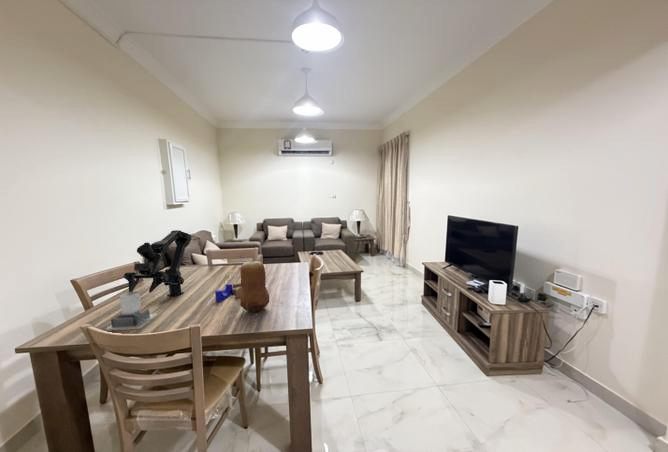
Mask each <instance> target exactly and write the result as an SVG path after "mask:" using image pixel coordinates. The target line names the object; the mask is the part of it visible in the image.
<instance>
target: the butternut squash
mask: <svg viewBox="0 0 668 452" xmlns="http://www.w3.org/2000/svg"><path fill="white" fill-rule="evenodd" d="M266 276H267V275H266V270H265V265H264V263H263V262H261V261H259V260H258V261H257V260H256V261H249V260H248V261H245V262H243V264H241V266H240V282H241V286H242V292H241V296H240V297H239V298H240V299H239V301H240V303H239V304H240V305H239V306H240V307H241V308H242V309H243V310H245V311H247V312H250V313H251V312H255V313H258V312H260V311H262V310H263V309H265V308H266V307H267V306H268V305H269V303H270V294H269V293H270V292H269V291H268V289H267V287H266V279H267V278H266Z"/></svg>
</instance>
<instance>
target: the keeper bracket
mask: <svg viewBox="0 0 668 452" xmlns="http://www.w3.org/2000/svg"><path fill="white" fill-rule="evenodd" d="M158 316H159V314H158V313H150V309H145V310H144V311H141V314H139V315H137V316H136V317H131V318H122V312H121V313H119V314H117V315H116V316H115V317H113V318H111V319H110V324H111V325H108V326H107V327H105V330H106V331H120V330H121V331H124V330H140V329H142V328H143V327H145V326H146V325H147V324H148V323H150V322H151V321H152V320H154V319H155V318H157V317H158Z"/></svg>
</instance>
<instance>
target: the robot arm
mask: <svg viewBox="0 0 668 452" xmlns="http://www.w3.org/2000/svg"><path fill="white" fill-rule="evenodd" d="M191 240H192V236H191V234H190V233H187V232H185V231H182V230H179V229H178V230H174V229H173V230H171V231H170V233H168V234H167V235H166V236H164V238H162V239H161V240H157V241H154V242H153V243H150V242H143V244H141V245H140V246H138V247H137V249H136V253H137V254H138V255H140V256H141V257H142V258H143V259H144V260H146V261H145V262H143V263H134V267H133V271H131V272H128V271H127V272H125V273H124V275H123V276H122V278H123V279H125V280H126V281H127V282H128V292H134V290H135V289H136V287H137V285H138V284H139V281H140V280H141V279H143V280H144V279H152V282H151V285H150V287H149V290H148V293H149V294H151V293H152V292H153V291H154V290H156V289H157V288H158V286H160V285H161V284H162V283H163V284H164V286H165V287H166V286H168V291H169V292H168V293H167V294H166V296H169V297H172V298H173V297H177V296H180V295H183V294H184V291H182V287H181V286H182V285H184V284H185V278H183V277H182V272H181V270H180V268H181V266H182V265H181V264H182V262H183V257H184V254H185V250H186V248H187V247H188V246H189V245H190V244H191ZM173 243H175V246H176V247H175V250H174V253H173V255H172V256H173V257H172V260H171V263H170V267H169V268H168V269H167V268H166V269H164V271H163V270H161V271H160V270H159V269H160V268H159V267H158V266H159V265H160V263H161V262H162V261H164V258H163V256H162V255H161V254H163V255H164V254H166V253H167V252H168V251H169V249H170V246H171V245H172V244H173ZM134 271H137V272H138V273H136V272H134Z"/></svg>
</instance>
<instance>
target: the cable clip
mask: <svg viewBox="0 0 668 452" xmlns="http://www.w3.org/2000/svg"><path fill="white" fill-rule="evenodd" d="M232 289H233V283H226V284H225V288H224V289H223V290H222V289H221V290H219V289H217V290H215V291H214V294H215V302H218V303H219V302H223V301H224V300H226V299H227V298H228V297H230V296H232V295H234V294H233V290H232Z"/></svg>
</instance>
